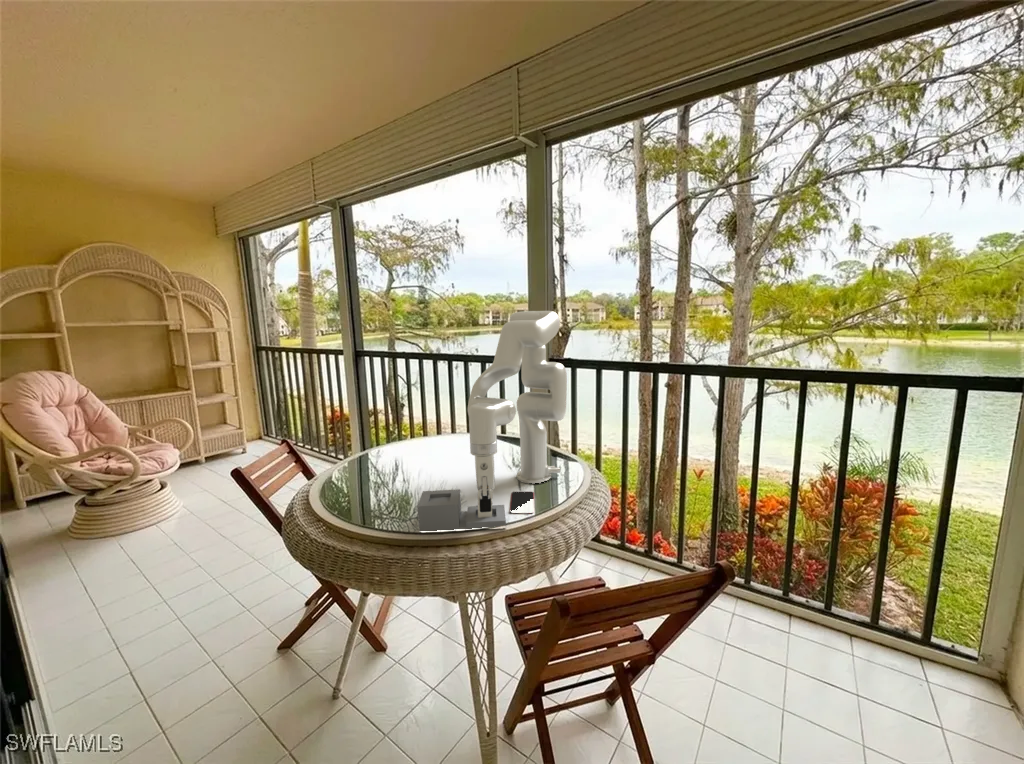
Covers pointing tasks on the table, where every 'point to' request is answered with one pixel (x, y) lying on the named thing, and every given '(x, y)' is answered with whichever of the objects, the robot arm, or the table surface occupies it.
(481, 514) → the plug
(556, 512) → the table surface
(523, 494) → the smartphone
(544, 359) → the robot arm
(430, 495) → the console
